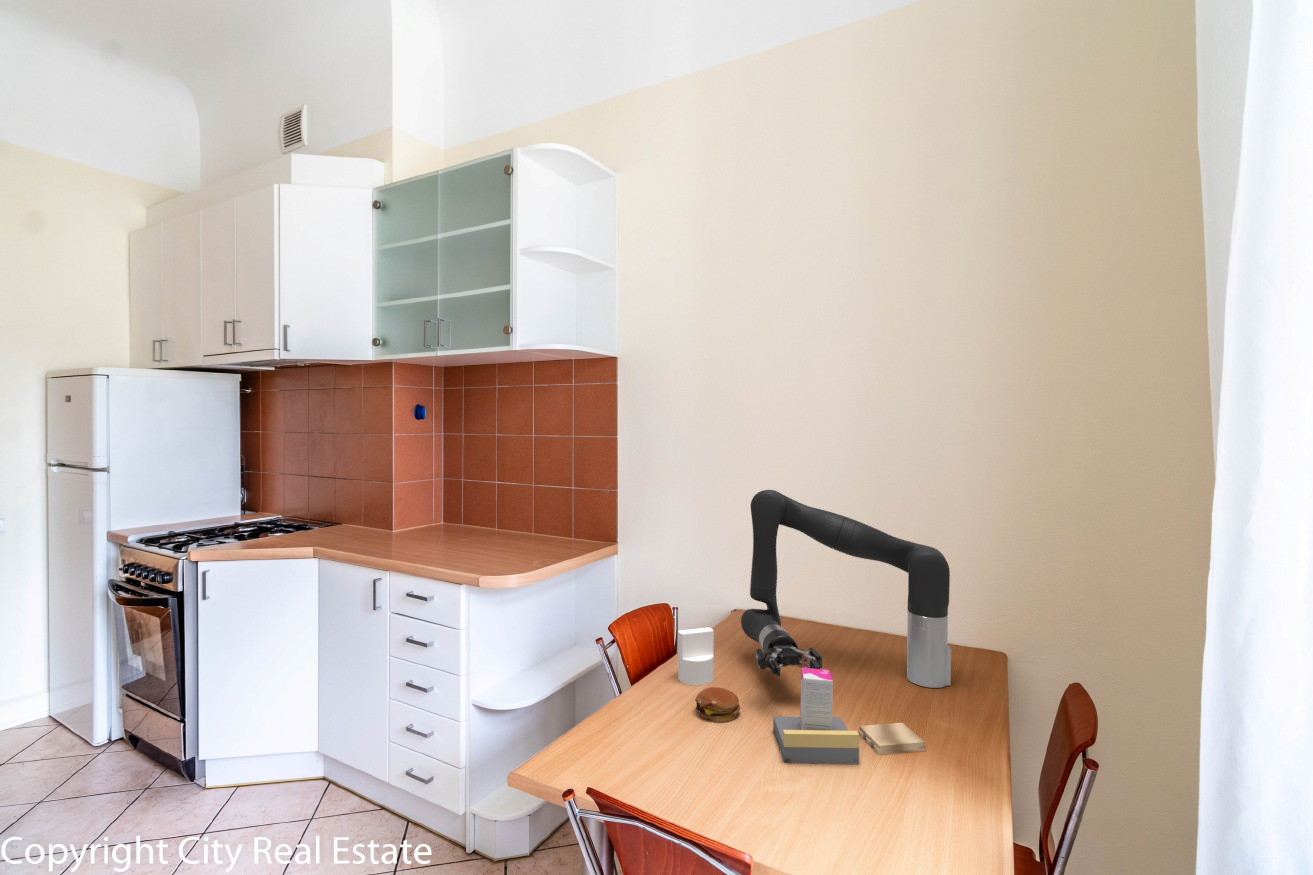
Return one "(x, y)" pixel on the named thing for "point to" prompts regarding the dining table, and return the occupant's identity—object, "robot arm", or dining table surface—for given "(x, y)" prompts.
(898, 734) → the block
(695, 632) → the cylinder with rectangular tab
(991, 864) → the dining table surface
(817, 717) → the supplement box
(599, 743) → the dining table surface
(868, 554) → the robot arm
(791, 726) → the dock
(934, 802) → the dining table surface
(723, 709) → the burger
